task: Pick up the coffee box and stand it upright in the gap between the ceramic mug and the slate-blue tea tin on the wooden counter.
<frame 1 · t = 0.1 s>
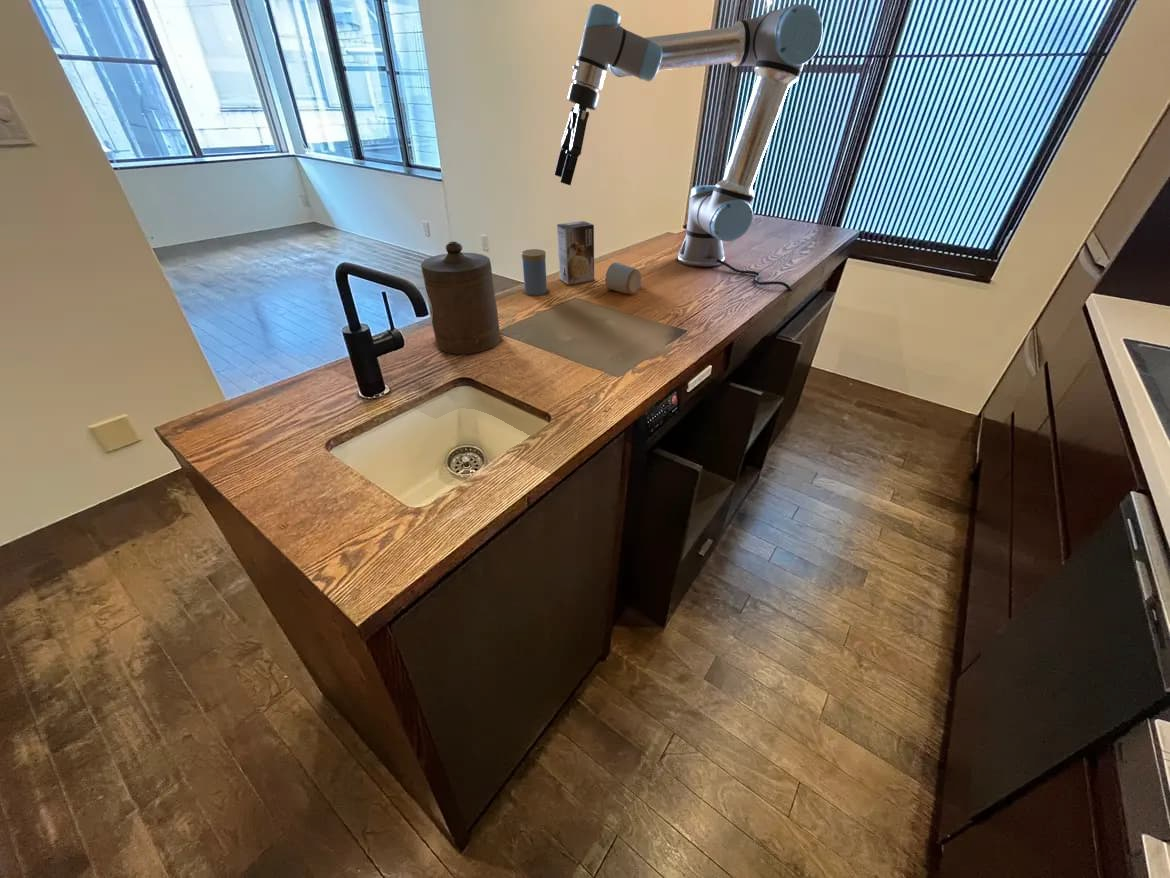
hand: (561, 180, 130), 28 cm above the worktop, tool tilted 20°, fingers open, 13 cm apart
wooden container: (468, 341, 113), on the worktop
ceramic mug: (625, 291, 140), on the worktop
tea tin: (535, 291, 140), on the worktop
coffee box: (576, 280, 148), on the worktop
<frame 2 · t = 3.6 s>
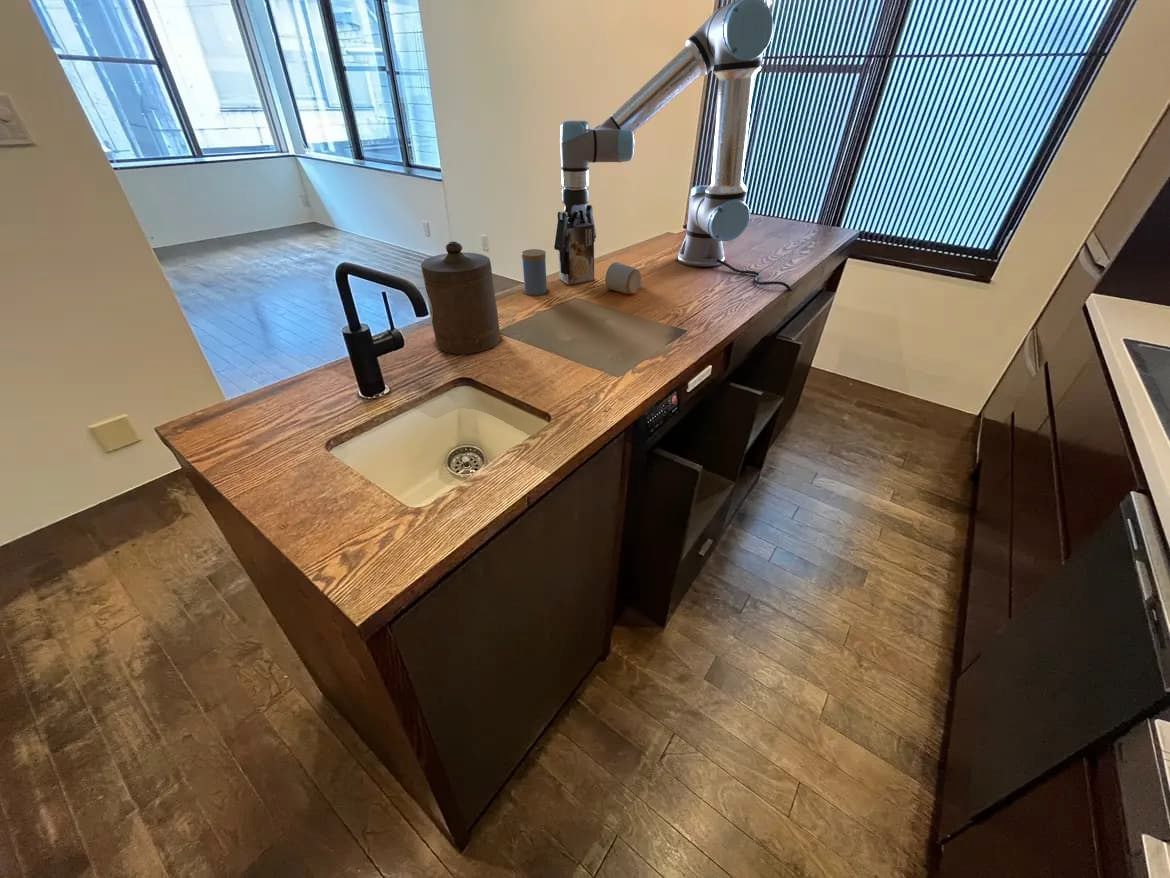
hand: (576, 268, 146), 3 cm above the worktop, tool pointing down, fingers closed on coffee box, 10 cm apart
coffee box: (576, 280, 148), on the worktop, touching gripper
everything else where it was.
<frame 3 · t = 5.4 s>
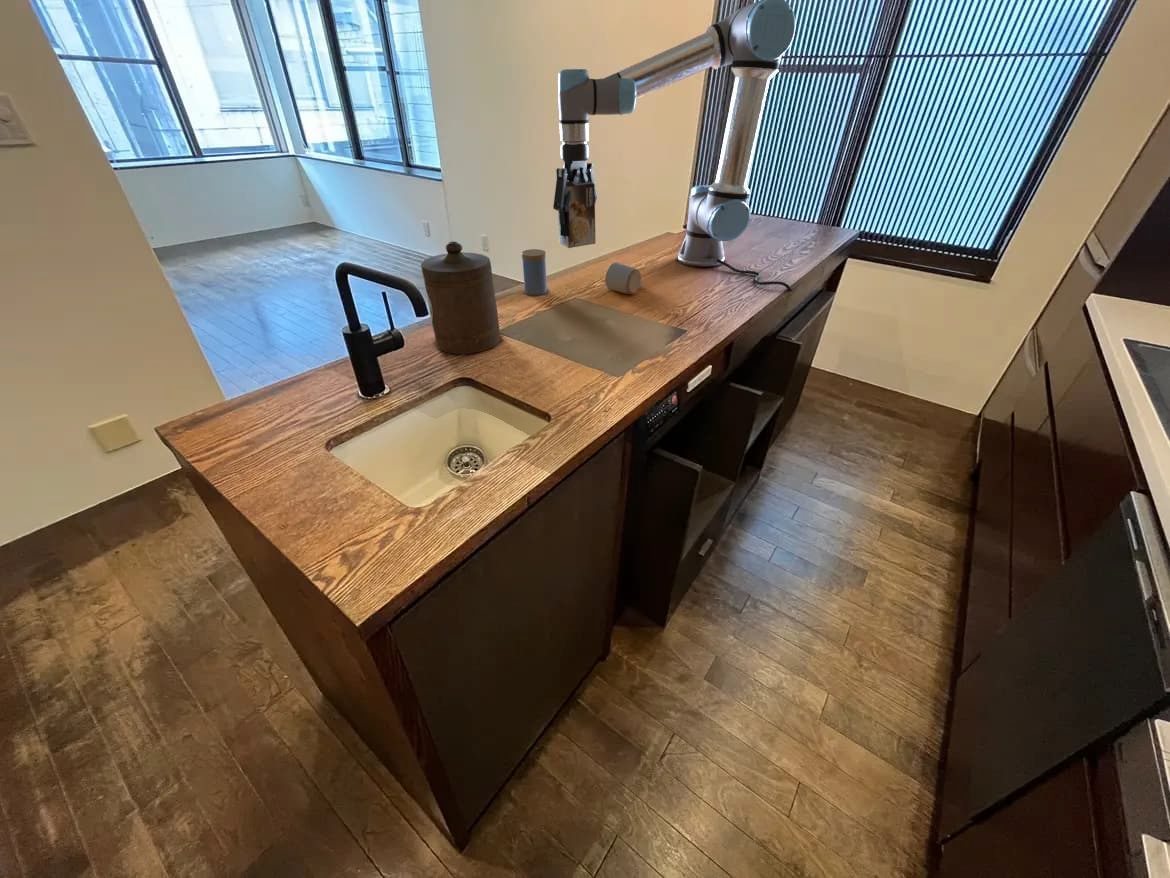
hand: (576, 231, 140), 14 cm above the worktop, tool pointing down, fingers closed on coffee box, 10 cm apart
coffee box: (577, 244, 142), point 10 cm above the worktop, touching gripper
everything else where it was.
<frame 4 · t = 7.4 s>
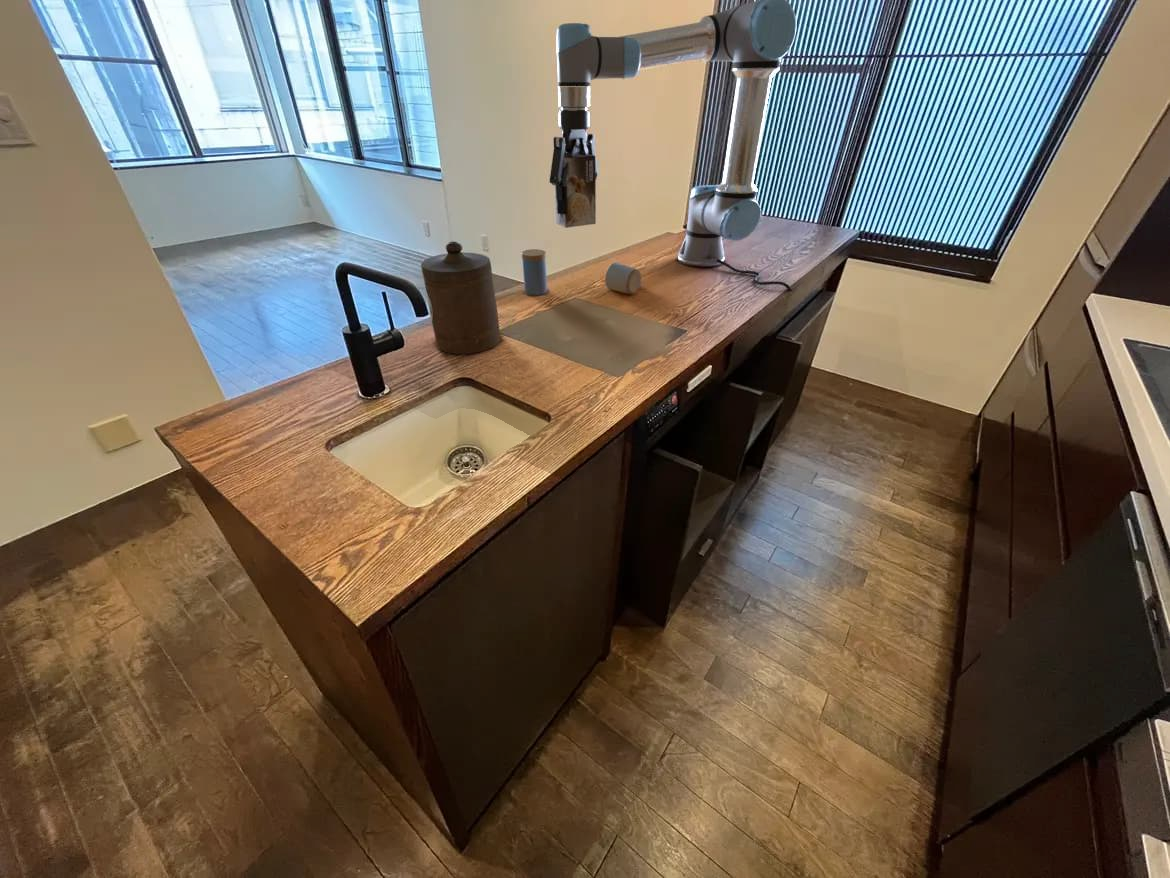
hand: (575, 210, 127), 22 cm above the worktop, tool pointing down, fingers closed on coffee box, 10 cm apart
coffee box: (575, 224, 130), point 18 cm above the worktop, touching gripper
everything else where it was.
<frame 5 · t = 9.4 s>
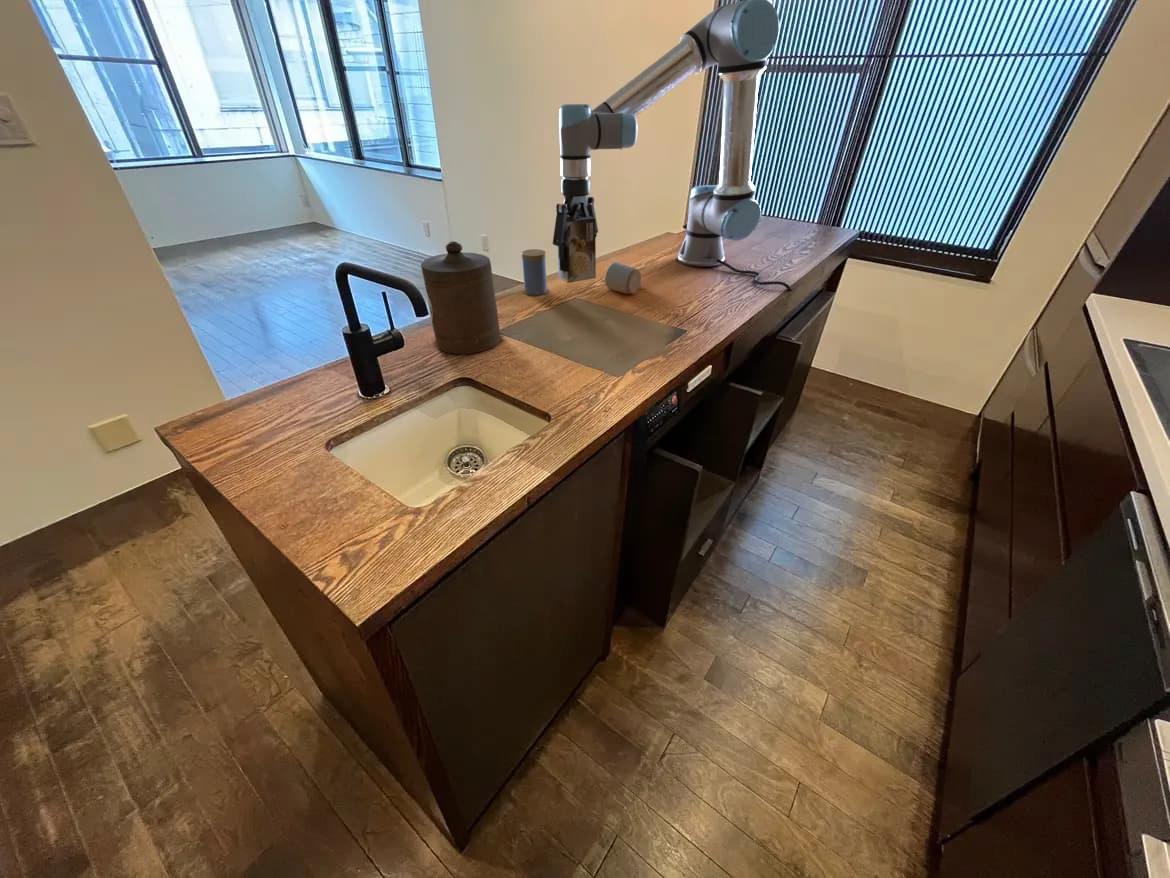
hand: (576, 265, 136), 7 cm above the worktop, tool pointing down, fingers closed on coffee box, 10 cm apart
coffee box: (576, 278, 138), point 4 cm above the worktop, touching gripper
everything else where it was.
when the fingers open (3 cm above the worktop, at t = 11.1 s): coffee box stays where it is, on the worktop.
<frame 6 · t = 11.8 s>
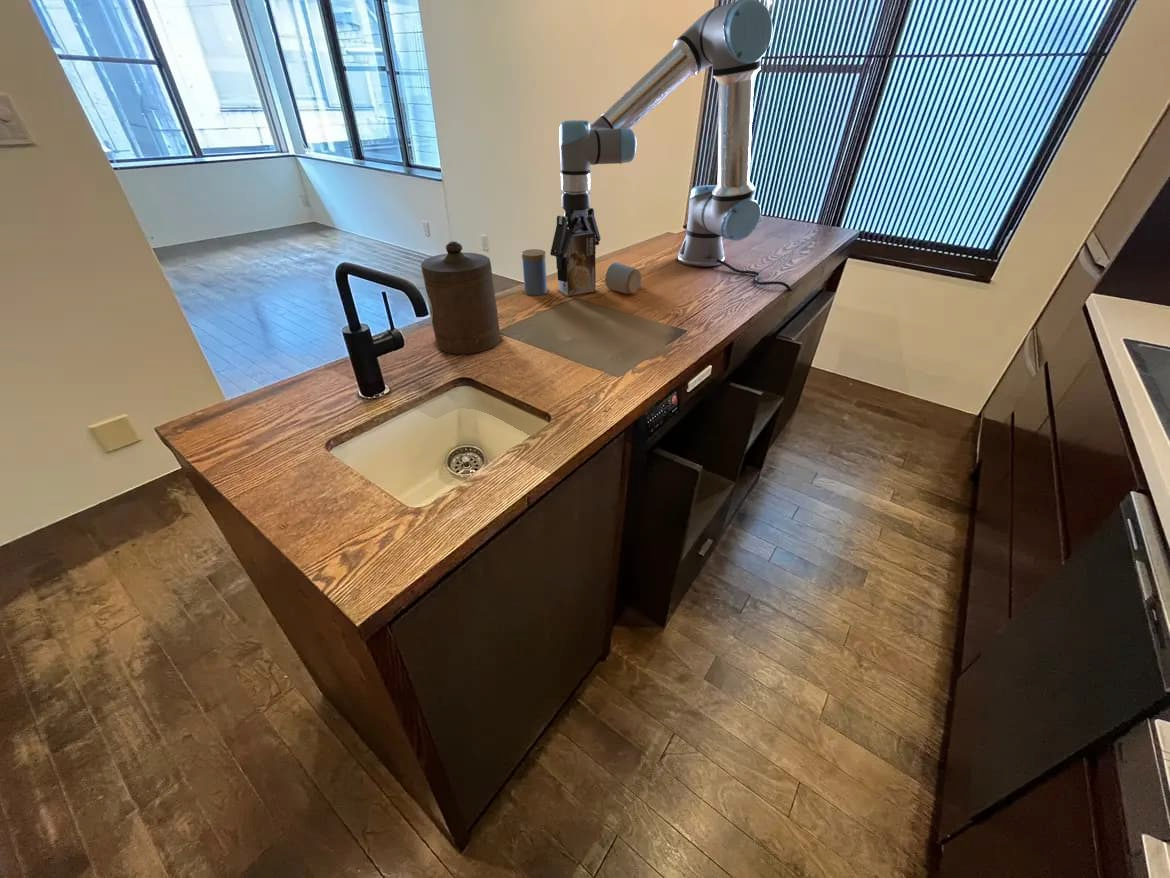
hand: (577, 274, 137), 5 cm above the worktop, tool pointing down, fingers open, 13 cm apart
coffee box: (577, 291, 140), on the worktop
everything else where it was.
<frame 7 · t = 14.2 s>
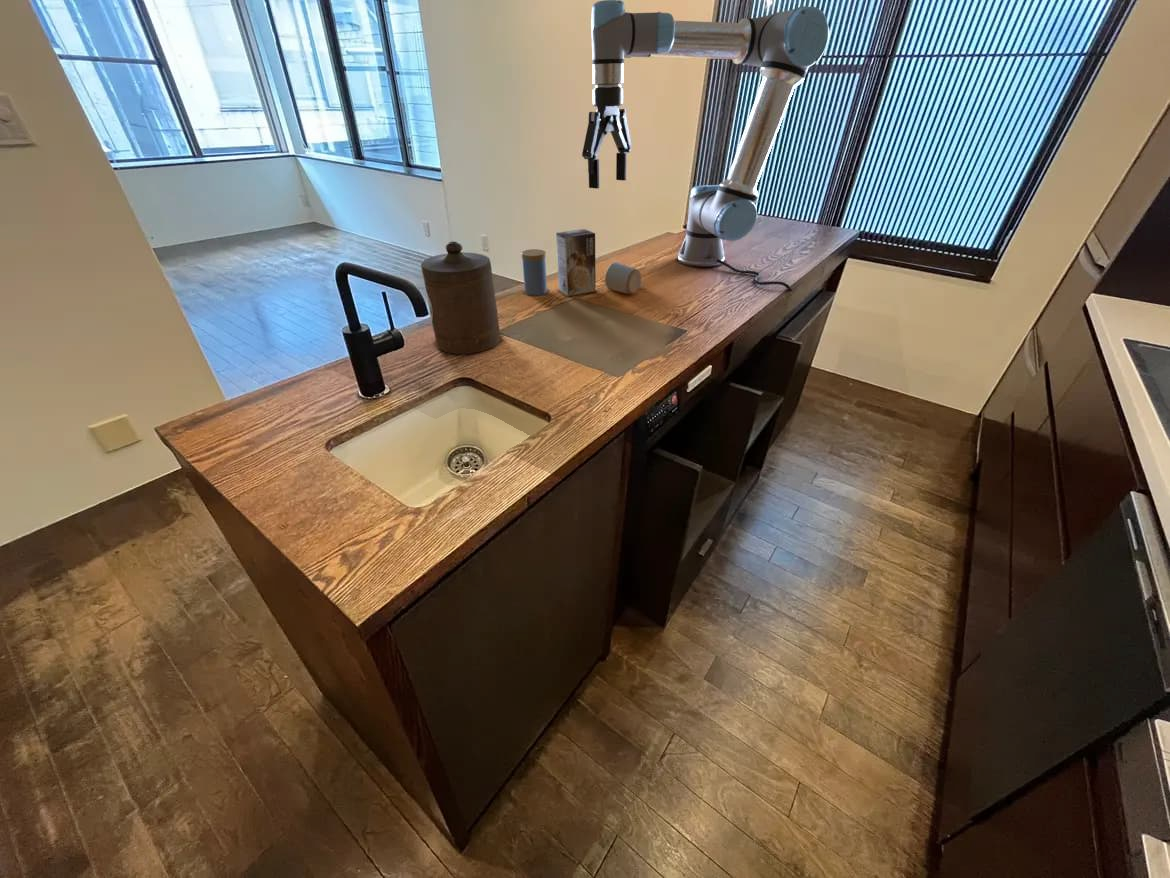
hand: (608, 184, 130), 27 cm above the worktop, tool pointing down, fingers open, 13 cm apart
nothing on the worktop moved.
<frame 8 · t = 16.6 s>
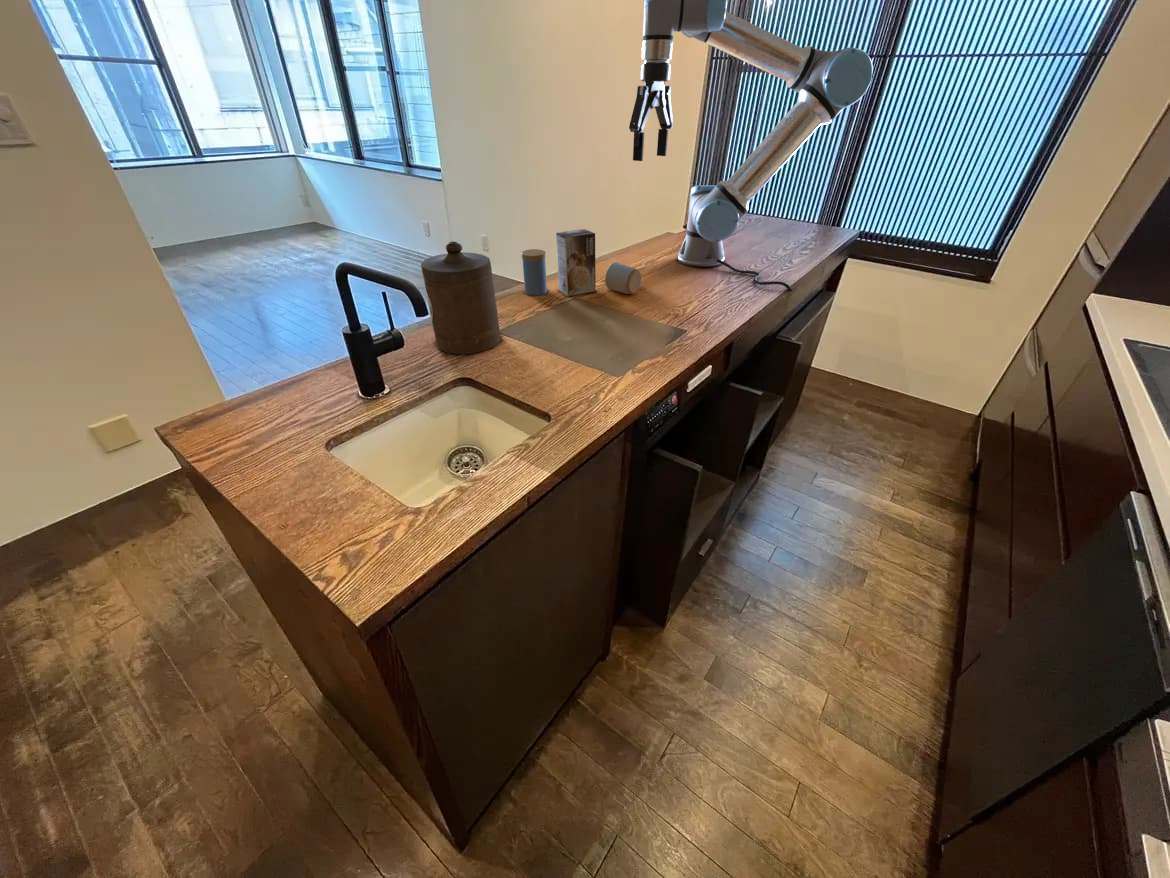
hand: (650, 158, 135), 32 cm above the worktop, tool pointing down, fingers open, 13 cm apart
nothing on the worktop moved.
at the end: coffee box 0.1 cm from the target spot, on the worktop; coffee box tilted 0°; tea tin moved 0.0 cm from its start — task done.
